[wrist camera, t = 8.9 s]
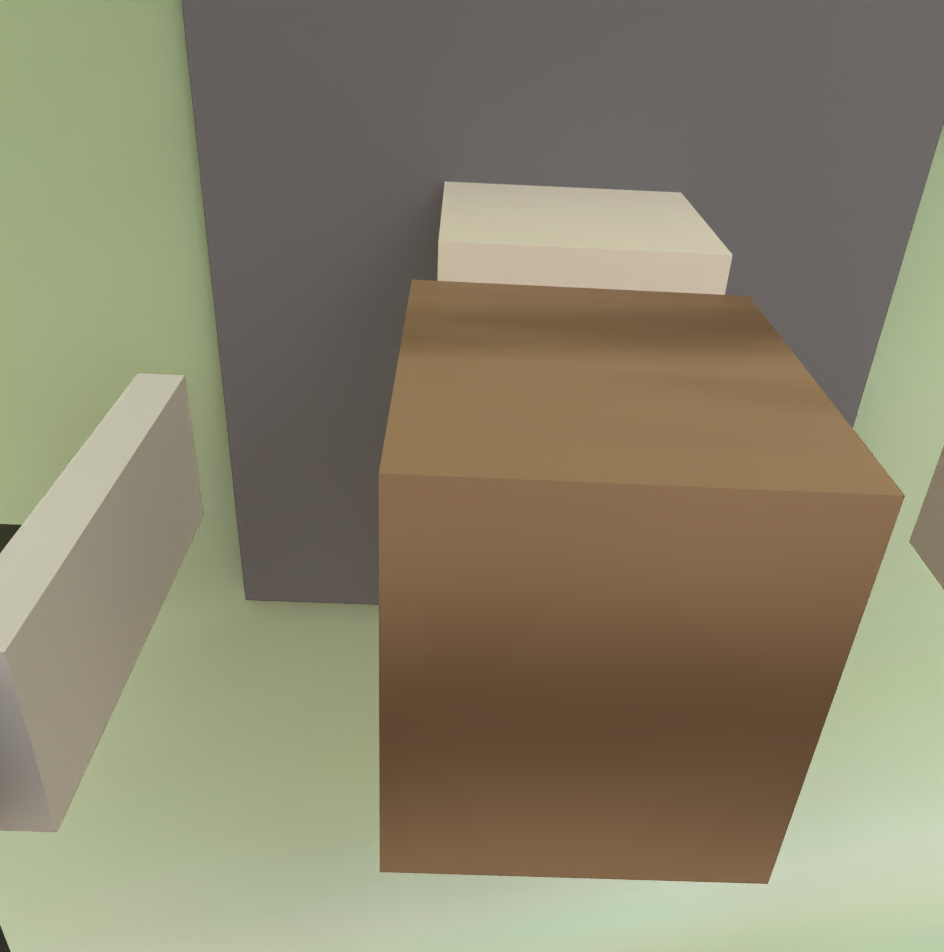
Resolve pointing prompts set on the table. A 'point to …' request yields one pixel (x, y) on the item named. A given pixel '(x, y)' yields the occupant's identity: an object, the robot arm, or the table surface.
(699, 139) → the mat
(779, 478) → the walnut brick
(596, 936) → the table surface
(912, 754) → the table surface
